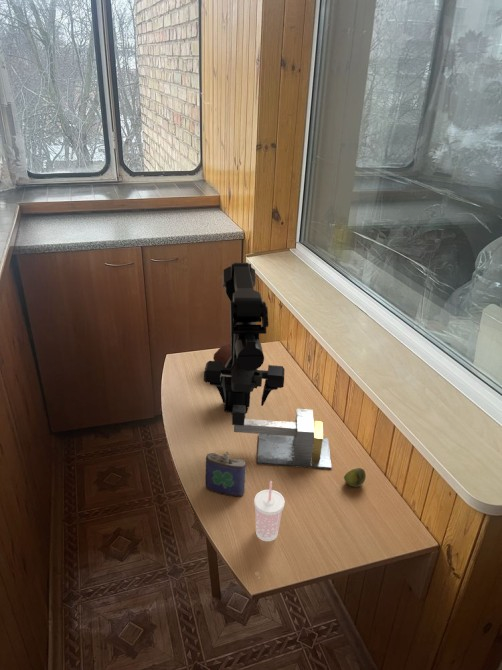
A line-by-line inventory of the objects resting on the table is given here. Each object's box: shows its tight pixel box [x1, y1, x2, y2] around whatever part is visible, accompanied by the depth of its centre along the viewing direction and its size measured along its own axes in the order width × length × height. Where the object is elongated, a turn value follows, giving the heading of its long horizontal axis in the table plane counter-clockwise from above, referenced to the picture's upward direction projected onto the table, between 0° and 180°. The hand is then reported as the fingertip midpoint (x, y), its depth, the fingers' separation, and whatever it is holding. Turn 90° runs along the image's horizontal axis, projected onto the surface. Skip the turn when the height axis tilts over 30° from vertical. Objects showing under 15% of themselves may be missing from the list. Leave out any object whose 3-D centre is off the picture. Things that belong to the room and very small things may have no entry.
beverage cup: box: [253, 480, 286, 542], centre depth 103 cm, size 6×6×14 cm
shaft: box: [231, 405, 297, 436], centre depth 125 cm, size 18×3×6 cm, turn 87°
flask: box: [204, 451, 247, 498], centre depth 114 cm, size 9×3×11 cm, turn 74°
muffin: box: [213, 343, 231, 368], centre depth 158 cm, size 12×11×10 cm
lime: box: [343, 467, 367, 488], centre depth 119 cm, size 4×5×5 cm
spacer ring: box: [312, 420, 324, 461], centre depth 127 cm, size 2×7×7 cm, turn 173°
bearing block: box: [256, 408, 332, 470], centre depth 127 cm, size 18×11×10 cm, turn 87°
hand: (243, 403), depth 125 cm, fingers open, 9 cm apart
